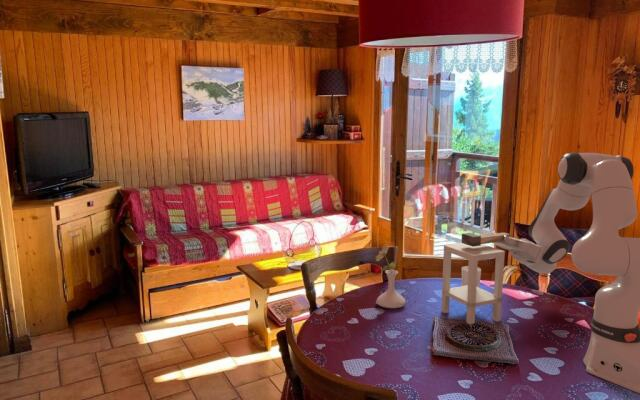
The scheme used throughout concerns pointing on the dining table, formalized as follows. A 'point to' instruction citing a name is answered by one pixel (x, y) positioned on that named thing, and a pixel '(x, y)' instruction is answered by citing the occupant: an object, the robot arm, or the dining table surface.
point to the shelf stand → (473, 280)
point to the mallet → (482, 238)
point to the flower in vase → (390, 296)
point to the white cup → (465, 276)
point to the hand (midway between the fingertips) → (499, 236)
